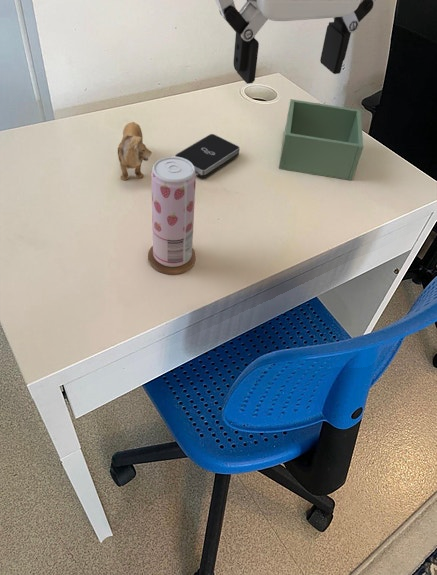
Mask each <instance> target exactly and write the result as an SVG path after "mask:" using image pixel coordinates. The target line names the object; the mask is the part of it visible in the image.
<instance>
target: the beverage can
mask: <svg viewBox="0 0 437 575" xmlns="http://www.w3.org/2000/svg"><path fill="white" fill-rule="evenodd" d="M150 175H151V176H150V177H151V220H152V223H151V224H152V246H153V256H154V258H155V259H156V260H157V261H158V262H159V263H161V264H163V265H165V266H169V267H177V266H181V265H183V264H185V263H187V262H188V261H189V260H190V259H191V256H192V248H193V242H194V240H193V239H194V220H195V200H196V184H197V183H196V180H197V175H196V173H195V167H194V166H193V164H192V163H191V162H190V161H188V160H187V159H184V158H181V157H175V155H174V156H172V155H171V156H165V157H162V158H159V159H158V160H156V162H154V164H153V165H152V170H151V174H150Z"/></svg>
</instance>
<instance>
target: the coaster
mask: <svg viewBox="0 0 437 575" xmlns="http://www.w3.org/2000/svg"><path fill="white" fill-rule="evenodd" d="M196 255H197V254H196V251H195V249H194V248H193V247H192V256H191V259H190V260H189V261H188V262H187V263H185V264H183V265H181V266H177V267H169V266H165V265H163V264H161V263H159V262H158V261H157V260H156V259H155V258H154V256H153V245H151V246H150V248H149V250H148V253H147V260H148V263H149V265H150V266H151V268H152V269H154V270H155V271H156V272H158V273H160V274H164V275H169V276H170V275H172V276H173V275H180V274H184V273H186V272H188V271H189V270H190V269H192V268H193V267H194V265H195V263H196V257H197V256H196Z"/></svg>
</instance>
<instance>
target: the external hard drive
mask: <svg viewBox="0 0 437 575" xmlns="http://www.w3.org/2000/svg"><path fill="white" fill-rule="evenodd" d="M239 155H240V146H239V145H237V144H236V143H233V142H232V141H229V140H227V139H225V138H223V137H221V136H219V135H217V134H214V133H210V134H208V135H206V136H204V137H202V138H201V139H199V140H197V141H196V142H195V143H193V144H191V145H189V146H187V147H186V148H184V149H182V150H181V151H179V152H176V154H175V155H174V156H175V157H181V158H184V159H187V160H188V161H190V162H191V163H192V164H193V166H194V167H195V173H196V177H199V178H201V179H205V178H206V177H208V176H209V175H211V174H212V173H214V172H215V171H217V170H218V169H220V168H221V167H223V166H224V165H226V164H228V163H229V162H230V161H232V160H234V159H236V158H237V157H238V156H239Z"/></svg>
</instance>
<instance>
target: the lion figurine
mask: <svg viewBox="0 0 437 575" xmlns="http://www.w3.org/2000/svg"><path fill="white" fill-rule="evenodd" d="M121 138H122V139H121V141H120V143H119V144H118V147H117V156H118V161H119V166H120V170H121V175H120V179H121V180H122V181H127V180H128V179H129V173H128V169H134V174H135V177H136V179H142V178H144V174H143V173H142V170H141V168H142V164H143V161H144V162H145V163H146V162H149V158H150V157H151V156H152V154H153V151H151V150H150V149H149V148H148V147H147V146H146V144H145V143H144V140H143V139H144V138H143V131H142V128H141V126H140V124H138V123H136V122H134V121H131V122H128V123H127V124H126V125H125V126H124V128H123V131H122V137H121Z"/></svg>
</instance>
